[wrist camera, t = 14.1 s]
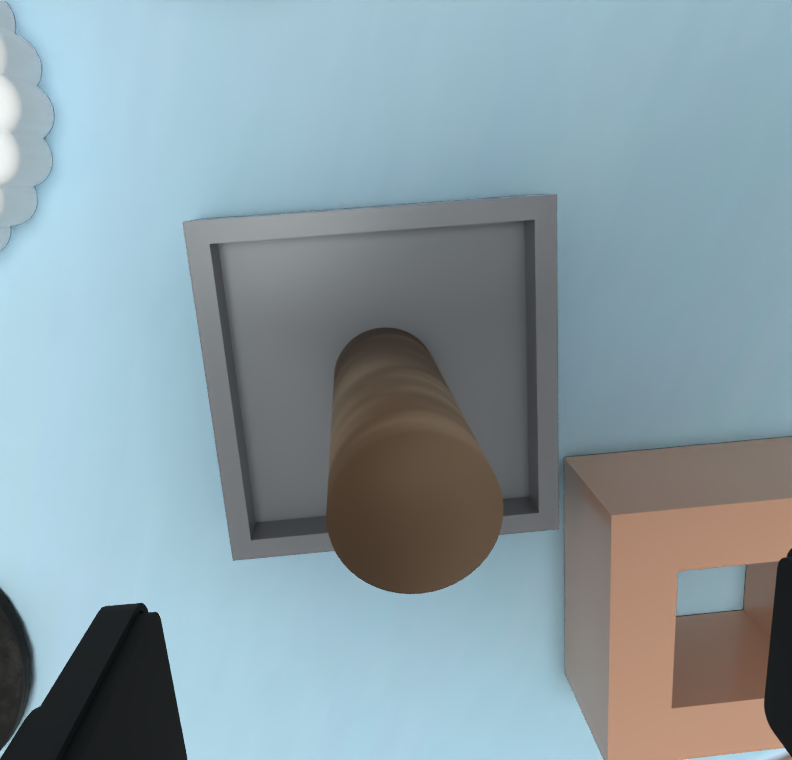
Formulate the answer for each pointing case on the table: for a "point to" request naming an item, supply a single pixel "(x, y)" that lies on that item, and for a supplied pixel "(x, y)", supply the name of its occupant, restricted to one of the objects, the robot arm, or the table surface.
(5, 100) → the mooncake
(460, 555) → the dowel pin
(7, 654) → the holder
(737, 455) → the well block
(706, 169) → the table surface
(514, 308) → the tray
